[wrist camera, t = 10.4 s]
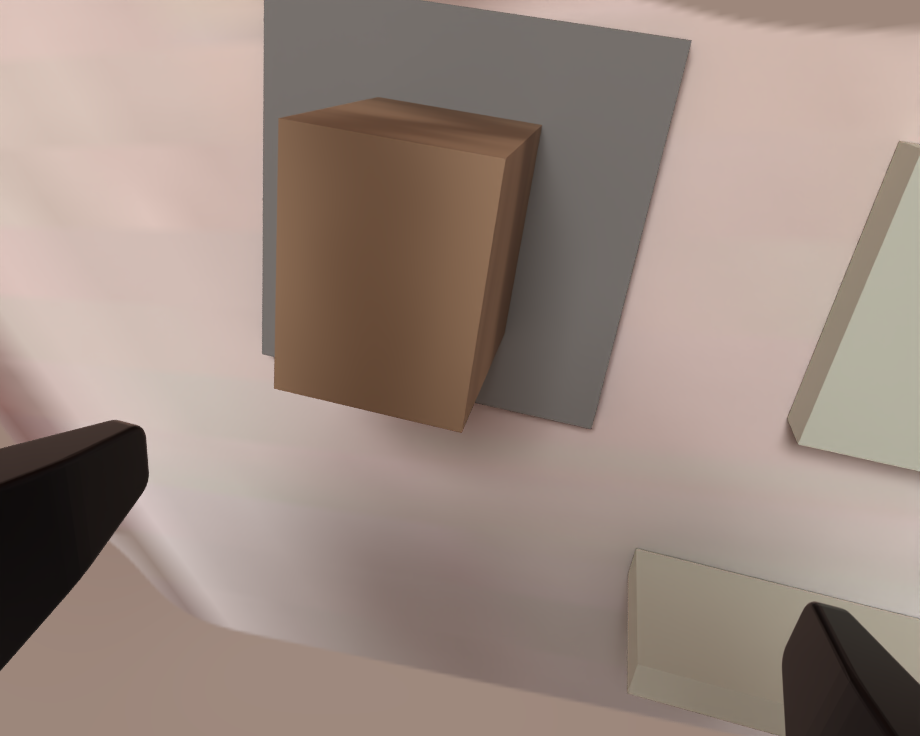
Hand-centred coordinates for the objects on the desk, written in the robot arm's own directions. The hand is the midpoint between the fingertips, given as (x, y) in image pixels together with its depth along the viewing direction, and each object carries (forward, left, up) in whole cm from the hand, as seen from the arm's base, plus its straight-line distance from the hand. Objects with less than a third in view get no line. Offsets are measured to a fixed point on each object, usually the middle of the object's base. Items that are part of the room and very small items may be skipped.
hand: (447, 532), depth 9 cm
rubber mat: (+3, -1, -13) cm, 13 cm away
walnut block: (+3, -1, -12) cm, 12 cm away
